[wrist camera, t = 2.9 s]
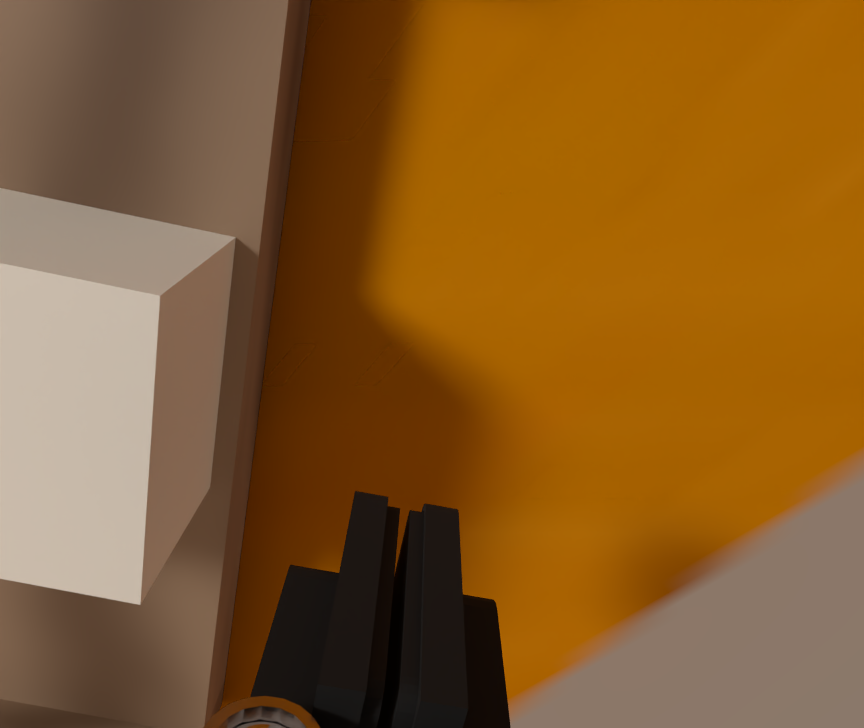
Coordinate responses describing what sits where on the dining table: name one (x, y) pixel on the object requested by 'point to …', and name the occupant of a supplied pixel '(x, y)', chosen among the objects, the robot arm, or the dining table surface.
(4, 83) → the box
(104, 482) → the cream block
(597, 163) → the dining table surface
